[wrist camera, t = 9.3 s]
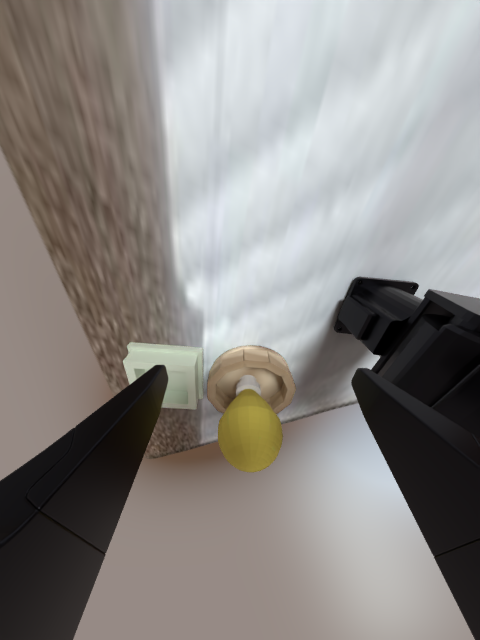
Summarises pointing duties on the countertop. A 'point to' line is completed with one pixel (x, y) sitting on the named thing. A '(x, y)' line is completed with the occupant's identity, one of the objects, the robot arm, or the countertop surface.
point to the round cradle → (257, 363)
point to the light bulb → (249, 429)
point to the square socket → (170, 371)
